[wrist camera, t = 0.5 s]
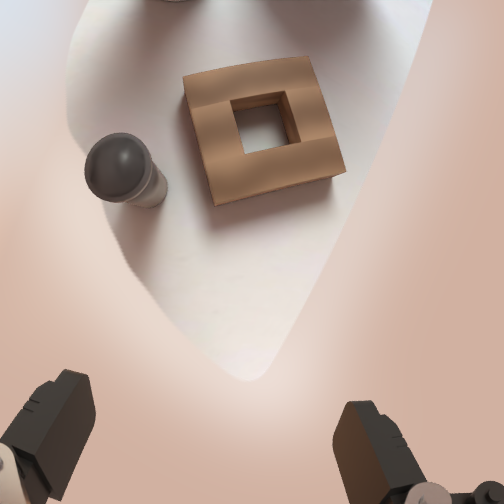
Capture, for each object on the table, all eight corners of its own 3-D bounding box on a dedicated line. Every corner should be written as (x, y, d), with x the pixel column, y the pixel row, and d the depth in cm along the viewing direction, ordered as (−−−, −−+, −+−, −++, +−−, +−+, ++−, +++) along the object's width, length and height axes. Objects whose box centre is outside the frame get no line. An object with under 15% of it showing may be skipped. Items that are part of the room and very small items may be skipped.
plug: (121, 173, 33) (79, 146, 20) (164, 159, 33) (142, 123, 21) (132, 216, 33) (92, 210, 21) (175, 203, 34) (157, 189, 21)
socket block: (184, 91, 33) (182, 76, 29) (298, 70, 35) (308, 55, 31) (214, 206, 35) (215, 203, 31) (332, 176, 36) (346, 171, 32)
